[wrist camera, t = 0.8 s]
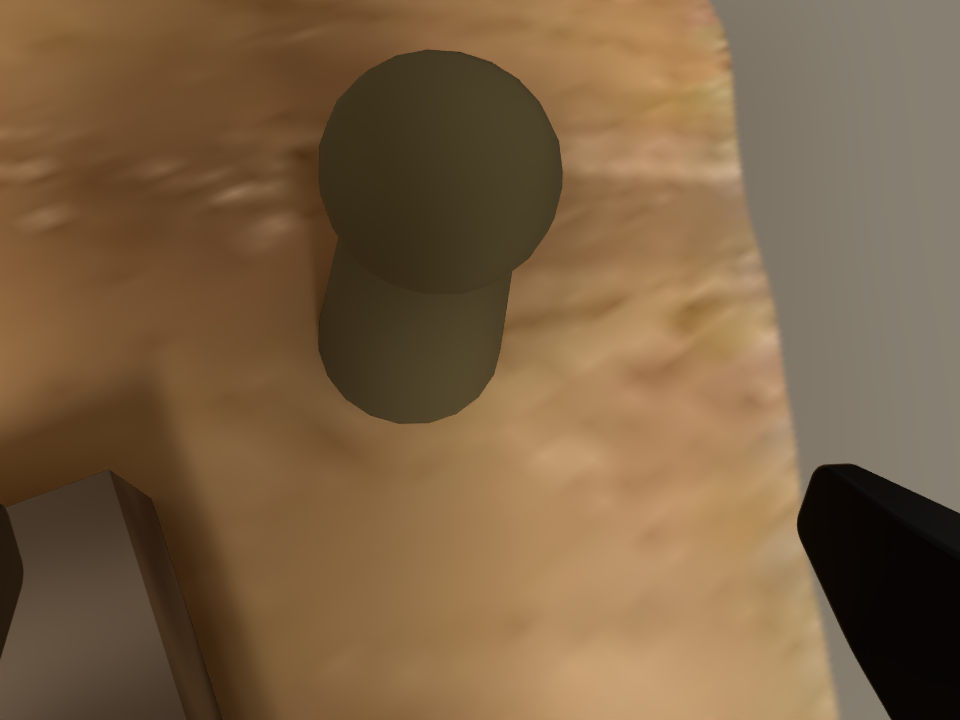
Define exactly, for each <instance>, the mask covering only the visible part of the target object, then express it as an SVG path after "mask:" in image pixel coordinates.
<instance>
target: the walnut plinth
mask: <svg viewBox="0 0 960 720" xmlns="http://www.w3.org/2000/svg"><path fill="white" fill-rule="evenodd" d="M6 510H7V512H8V514H9V517H10V521H11V524H12V527H13V531H14V534H15V538H16V541H17V545H18V548H19V551H20V555H21V558H22V562H23V570H24V575H23V584H22V588H21V592H20V595H19V599H18V602H17V605H16V609H15V612H14V616H13V619H12V622H11V626H10V629H9V632H8V636H7V639H6V643H5V646H4V649H3V653H2V656H1V659H0V720H222V717H221V714H220V710H219V707H218V704H217V701H216V698H215V695H214V692H213V689H212V686H211V683H210V679H209V676H208V673H207V670H206V667H205V664H204V661H203V658H202V655H201V652H200V648H199V645H198V642H197V639H196V636H195V633H194V630H193V627H192V624H191V621H190V617H189V614H188V611H187V608H186V605H185V602H184V599H183V596H182V593H181V590H180V586H179V583H178V580H177V577H176V574H175V571H174V568H173V565H172V562H171V559H170V556H169V552H168V549H167V546H166V543H165V540H164V537H163V534H162V531H161V528H160V525H159V521H158V518H157V515H156V512H155V509H154V506H153V503H152V500H151V498H149V497H148V496H147V495H145V494H144V493H142V492H141V491H139V490H138V489H136V488H135V487H133V486H132V485H131V484H129V483H128V482H126V481H125V480H123V479H122V478H120V477H119V476H117V475H116V474H115V473H113V472H112V471H110V470H106V471H103V472H101V473H98V474H95V475H93V476H90V477H87V478H84V479H82V480H79V481H76V482H74V483H71V484H68V485H65V486H63V487H60V488H57V489H54V490H52V491H49V492H46V493H44V494H41V495H38V496H35V497H33V498H30V499H27V500H25V501H22V502H19V503H16V504H14V505H11V506H8V507H6Z"/></svg>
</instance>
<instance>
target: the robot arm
mask: <svg viewBox="0 0 960 720" xmlns="http://www.w3.org/2000/svg"><path fill="white" fill-rule="evenodd" d="M797 530H798V534H799V538H800V540H801V542H802V545H803V547H804V549H805V551H806V553H807V556H808V558H809V560H810V562H811V564H812V567H813V569H814V571H815V573H816V575H817V577H818V580H819V582H820V584H821V586H822V588H823V590H824V593H825V595H826V597H827V599H828V601H829V604H830V606H831V608H832V610H833V612H834V614H835V617H836V619H837V621H838V623H839V625H840V628H841V630H842V632H843V634H844V636H845V638H846V640H847V642H848V644H849V646H850V648H851V650H852V652H853V654H854V656H855V658H856V659H857V661H858V663H859V665H860V667H861V668H862V670H863V672H864V674H865V675H866V677H867V679H868V681H869V682H870V684H871V686H872V687H873V689H874V691H875V693H876V694H877V696H878V698H879V700H880V701H881V703H882V705H883V706H884V708H885V710H886V711H887V713H888V715H889V717H890V719H891V720H960V513H958V512H956V511H954V510H952V509H949V508H947V507H945V506H943V505H941V504H939V503H936V502H934V501H932V500H930V499H928V498H926V497H924V496H921V495H919V494H917V493H915V492H912V491H910V490H909V489H906V488H904V487H902V486H900V485H898V484H896V483H893V482H891V481H889V480H887V479H885V478H883V477H880V476H878V475H876V474H874V473H872V472H870V471H868V470H866V469H863V468H861V467H859V466H857V465H854V464H826V465H822V466H819V467H818V468H817V469H816V470H815V471H814V472H813V474H812V476H811V479H810V482H809V485H808V488H807V491H806V494H805V497H804V500H803V502H802V505H801V508H800V511H799V514H798V518H797ZM23 575H24V570H23V562H22V558H21V555H20V551H19V548H18V545H17V541H16V538H15V534H14V531H13V527H12V524H11V521H10V517H9V514H8V512H7V510H6V508H5V507H4V506H3V505H2V504H0V659H1V656H2V653H3V649H4V646H5V643H6V639H7V636H8V632H9V629H10V626H11V622H12V619H13V616H14V612H15V609H16V605H17V602H18V599H19V595H20V592H21V588H22V584H23Z"/></svg>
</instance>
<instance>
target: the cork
mask: <svg viewBox="0 0 960 720" xmlns="http://www.w3.org/2000/svg"><path fill="white" fill-rule="evenodd" d="M562 174H563V171H562V163H561V154H560V146H559V140H558V138H557V136H556V134H555V132H554V130H553V128H552V126H551V124H550V122H549V120H548V118H547V116H546V113H545V111H544V110H543V108H542V106H541V104H540V102H539V101H538V100H537V99H536V98H535V97H534V95H533V94H532V93H531V92H530V91H529V90H528V89H527V88H526V87H525V86H524V85H523V84H522V83H521V81H520V80H519V79H517V78H516V77H514V76H513V75H511V74H509V73H508V72H506V71H505V70H503V69H501V68H500V67H498V66H497V65H495V64H493V63H492V62H489V61H486V60H483V59H480V58H477V57H474V56H471V55H468V54H465V53H462V52H453V51H439V50H423V51H418V52H413V53H408V54H403V55H398V56H395V57H393V58H391V59H389V60H387V61H385V62H383V63H381V64H379V65H377V66H376V67H374V68H372V69H370V70H368V71H367V72H366V73H364V74H363V75H362V76H361V77H359V78H358V79H357V80H356V81H355V83H354V84H353V85H352V86H351V87H350V88H349V89H348V90H347V91H346V92H345V93H344V94H343V95H342V96H341V97H340V98H339V99H338V100H337V102H336V104H335V107H334V109H333V112H332V114H331V116H330V119H329V121H328V123H327V126H326V128H325V131H324V134H323V137H322V139H321V142H320V145H319V184H320V194H321V197H322V200H323V203H324V205H325V208H326V211H327V214H328V216H329V219H330V222H331V224H332V227H333V229H334V230H335V232H336V234H337V235H338V237H339V238H338V243H337V247H336V251H335V256H334V260H333V264H332V269H331V273H330V277H329V282H328V286H327V290H326V295H325V299H324V304H323V308H322V312H321V317H320V321H319V352H320V355H321V358H322V361H323V364H324V366H325V369H326V372H327V375H328V377H329V378H330V379H331V381H332V382H333V383H334V385H335V386H336V387H337V388H338V390H339V391H340V392H341V394H342V395H343V396H344V397H345V399H347V400H348V401H350V402H351V403H353V404H354V405H356V406H357V407H359V408H360V409H362V410H363V411H365V412H366V413H368V414H369V415H371V416H375V417H378V418H381V419H385V420H388V421H392V422H395V423H399V424H405V423H430V422H433V421H436V420H439V419H442V418H445V417H448V416H451V415H454V414H457V413H458V412H459V411H461V410H462V409H463V408H465V407H466V406H467V405H469V404H470V403H471V402H473V401H474V400H475V399H477V398H478V397H479V396H480V394H481V393H482V391H483V390H484V388H485V387H486V385H487V384H488V382H489V381H490V379H491V378H492V377H493V375H494V372H495V368H496V364H497V360H498V357H499V353H500V349H501V342H502V335H503V329H504V322H505V315H506V309H507V302H508V295H509V288H510V282H511V275H512V271H513V270H514V269H516V268H517V267H518V266H520V265H521V264H522V263H524V262H525V261H526V260H527V259H529V257H530V256H531V254H532V253H533V252H534V250H535V249H536V247H537V246H538V245H539V243H540V242H541V240H542V239H543V238H544V236H545V235H546V233H547V232H548V230H549V228H550V226H551V224H552V222H553V220H554V217H555V213H556V209H557V205H558V201H559V197H560V193H561V189H562Z"/></svg>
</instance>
